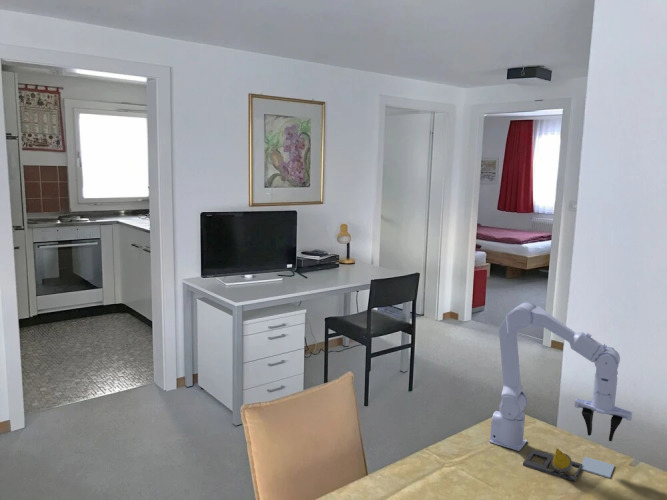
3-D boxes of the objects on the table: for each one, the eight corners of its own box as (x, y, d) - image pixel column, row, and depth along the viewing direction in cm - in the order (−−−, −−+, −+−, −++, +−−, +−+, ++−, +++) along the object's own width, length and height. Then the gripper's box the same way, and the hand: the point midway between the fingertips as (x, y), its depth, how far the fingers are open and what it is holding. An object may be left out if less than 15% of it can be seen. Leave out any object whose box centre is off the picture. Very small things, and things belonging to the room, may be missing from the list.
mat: (578, 469, 159) (579, 467, 159) (584, 457, 166) (584, 456, 166) (609, 478, 155) (609, 477, 154) (614, 466, 161) (614, 465, 161)
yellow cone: (574, 478, 155) (567, 457, 150) (554, 477, 158) (546, 456, 153) (573, 460, 159) (567, 439, 154) (553, 460, 162) (546, 439, 157)
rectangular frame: (522, 465, 160) (522, 463, 160) (532, 451, 168) (532, 449, 168) (574, 482, 152) (574, 479, 152) (582, 466, 160) (582, 464, 160)
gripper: (573, 389, 158) (569, 434, 160) (631, 402, 149) (626, 450, 151) (579, 382, 163) (575, 425, 165) (635, 394, 155) (630, 440, 157)
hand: (600, 437), depth 159 cm, fingers open, 5 cm apart
